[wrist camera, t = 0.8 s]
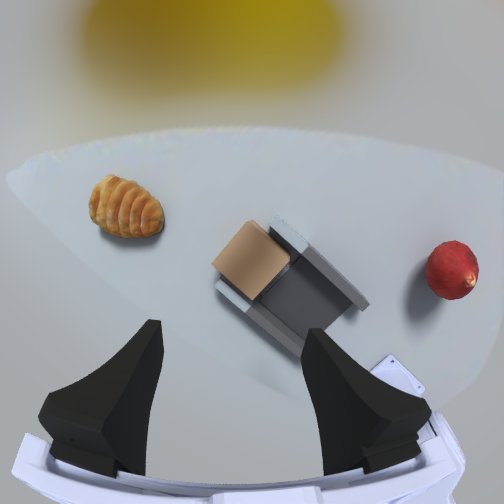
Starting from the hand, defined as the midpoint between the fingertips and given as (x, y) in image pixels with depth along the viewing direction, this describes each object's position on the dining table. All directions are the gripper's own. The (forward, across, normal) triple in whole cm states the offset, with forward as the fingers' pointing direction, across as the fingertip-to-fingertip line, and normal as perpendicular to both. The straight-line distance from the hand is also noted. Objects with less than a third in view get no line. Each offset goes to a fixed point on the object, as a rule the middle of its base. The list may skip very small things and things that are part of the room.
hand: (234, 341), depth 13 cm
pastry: (+20, +12, -1) cm, 24 cm away
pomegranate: (+11, -22, 0) cm, 25 cm away
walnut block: (+16, -3, +2) cm, 16 cm away
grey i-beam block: (+14, -7, +5) cm, 16 cm away
